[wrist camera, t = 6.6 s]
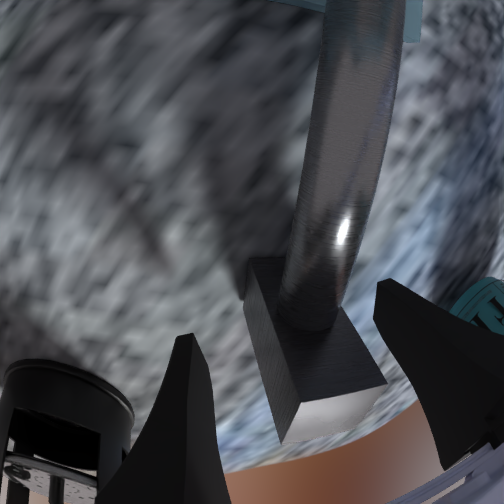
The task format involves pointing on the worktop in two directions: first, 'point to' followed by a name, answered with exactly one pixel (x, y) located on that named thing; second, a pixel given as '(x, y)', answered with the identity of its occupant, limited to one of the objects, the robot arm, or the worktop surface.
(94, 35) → the worktop surface
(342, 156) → the hook rod
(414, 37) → the eye bracket
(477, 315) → the beverage bottle
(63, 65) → the worktop surface
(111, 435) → the french press
